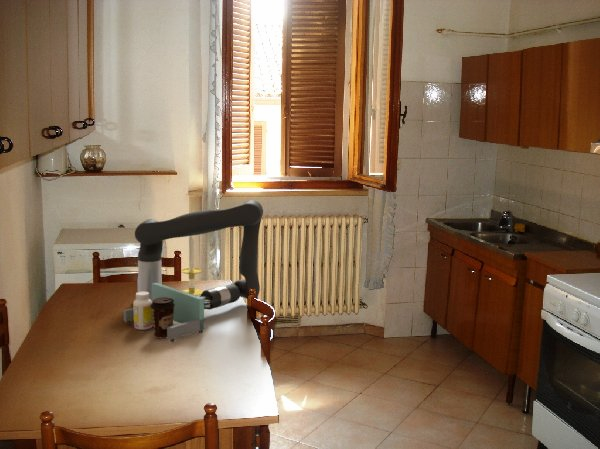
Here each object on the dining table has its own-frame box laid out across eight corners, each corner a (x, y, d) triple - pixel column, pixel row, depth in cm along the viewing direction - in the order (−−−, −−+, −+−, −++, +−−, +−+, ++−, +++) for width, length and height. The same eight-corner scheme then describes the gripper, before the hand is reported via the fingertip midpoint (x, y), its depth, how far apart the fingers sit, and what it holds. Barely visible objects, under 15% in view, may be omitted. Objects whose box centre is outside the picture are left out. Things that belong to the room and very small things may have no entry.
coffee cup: (180, 334, 242) (180, 298, 239) (166, 341, 234) (166, 305, 232) (160, 329, 245) (159, 295, 243) (146, 337, 238) (145, 301, 235)
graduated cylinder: (194, 288, 298) (194, 227, 293) (208, 293, 291) (208, 231, 286) (175, 292, 292) (174, 230, 287) (188, 297, 284) (187, 234, 279)
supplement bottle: (155, 324, 251) (154, 291, 248) (149, 330, 244) (148, 296, 242) (137, 323, 251) (136, 290, 249) (131, 329, 245) (130, 295, 242)
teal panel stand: (123, 324, 250) (122, 290, 248) (157, 315, 261) (157, 282, 259) (170, 343, 232) (169, 307, 229) (204, 333, 243) (204, 298, 240)
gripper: (204, 284, 267) (168, 293, 254) (227, 291, 258) (191, 301, 246) (204, 303, 268) (168, 312, 256) (227, 310, 260) (191, 321, 247)
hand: (179, 307), depth 251 cm, fingers closed
